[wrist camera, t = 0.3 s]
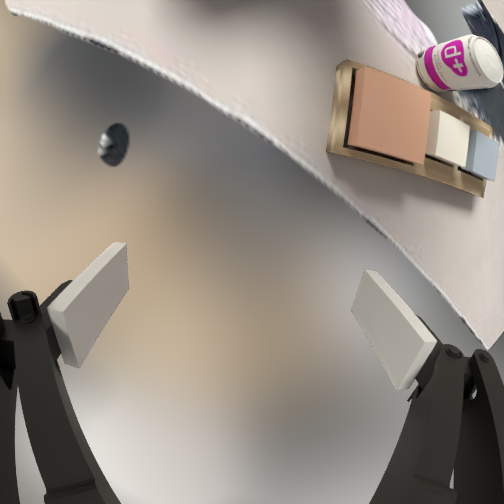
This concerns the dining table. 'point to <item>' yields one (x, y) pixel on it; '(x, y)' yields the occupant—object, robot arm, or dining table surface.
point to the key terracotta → (389, 116)
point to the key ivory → (447, 138)
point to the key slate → (481, 155)
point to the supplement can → (460, 65)
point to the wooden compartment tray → (429, 169)
